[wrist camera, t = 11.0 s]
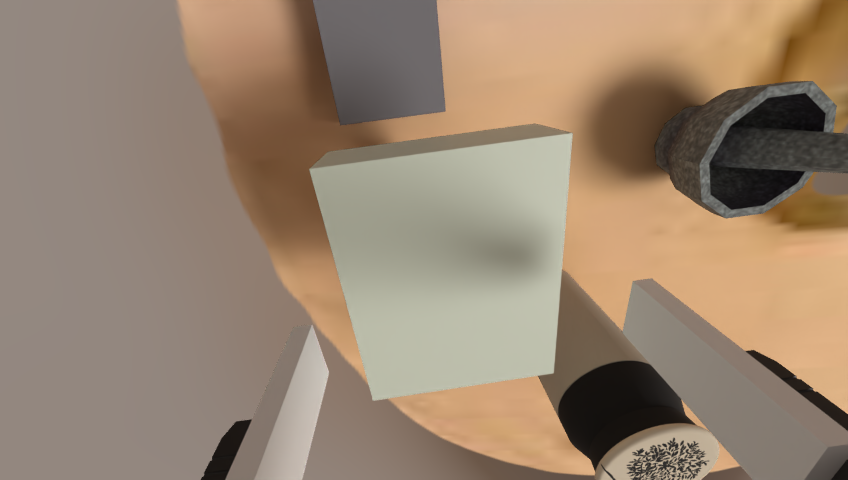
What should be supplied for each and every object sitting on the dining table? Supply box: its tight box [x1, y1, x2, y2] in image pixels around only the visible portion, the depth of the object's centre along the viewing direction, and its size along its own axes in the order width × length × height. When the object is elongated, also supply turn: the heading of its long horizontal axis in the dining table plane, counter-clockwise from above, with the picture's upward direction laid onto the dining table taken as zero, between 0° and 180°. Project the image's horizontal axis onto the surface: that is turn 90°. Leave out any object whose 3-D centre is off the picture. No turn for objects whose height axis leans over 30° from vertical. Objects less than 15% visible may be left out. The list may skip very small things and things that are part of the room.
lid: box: [309, 124, 573, 401], centre depth 18 cm, size 11×14×4 cm
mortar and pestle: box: [655, 81, 848, 218], centre depth 24 cm, size 11×9×12 cm
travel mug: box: [538, 270, 719, 480], centre depth 27 cm, size 8×8×18 cm
